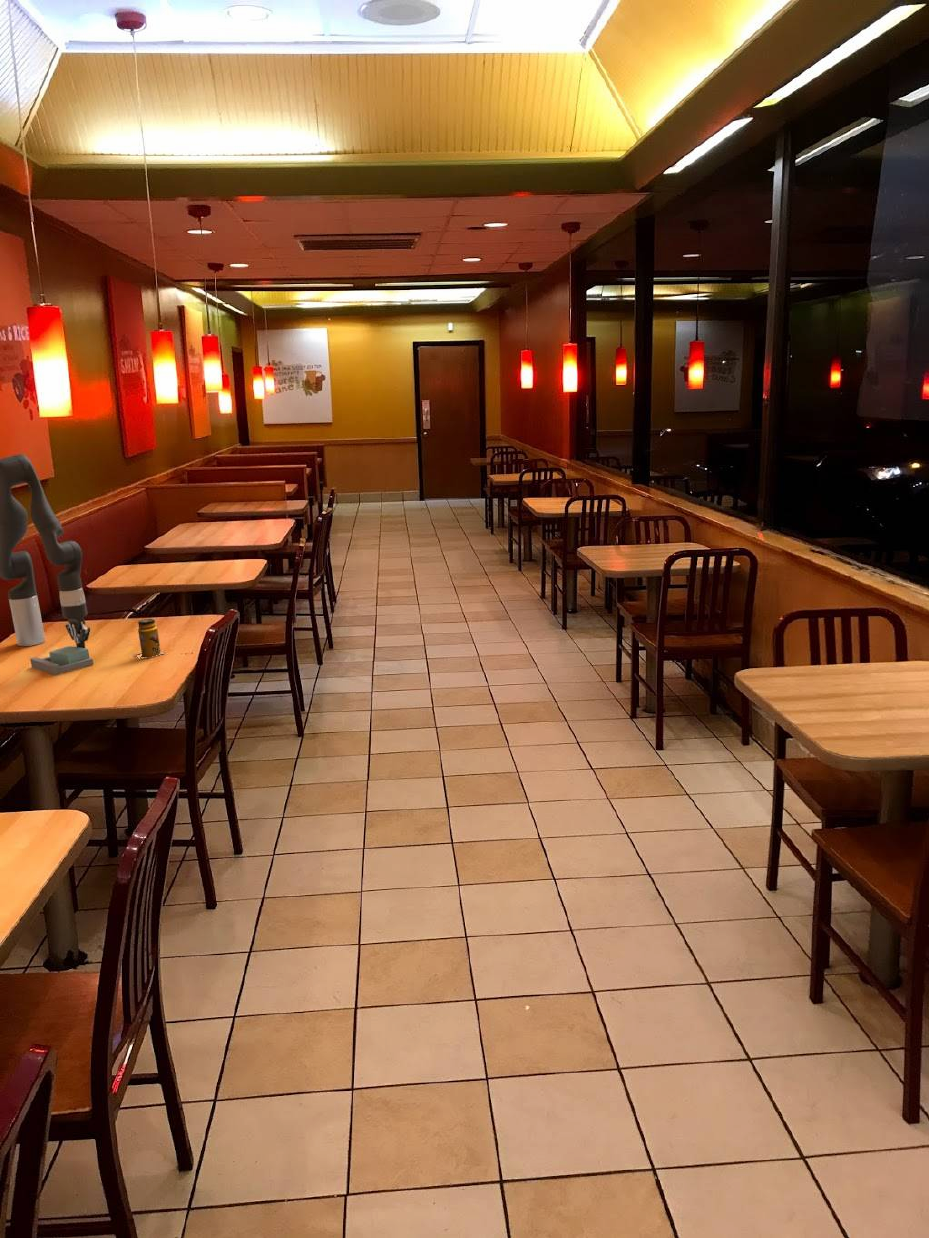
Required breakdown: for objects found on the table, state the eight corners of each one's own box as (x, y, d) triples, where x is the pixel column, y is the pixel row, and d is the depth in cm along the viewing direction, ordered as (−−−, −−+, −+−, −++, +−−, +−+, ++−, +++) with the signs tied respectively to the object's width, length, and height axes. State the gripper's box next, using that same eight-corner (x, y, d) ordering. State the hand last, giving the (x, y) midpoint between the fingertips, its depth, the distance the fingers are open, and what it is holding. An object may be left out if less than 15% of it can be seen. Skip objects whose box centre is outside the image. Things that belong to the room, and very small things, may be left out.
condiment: (164, 654, 308) (159, 620, 305) (138, 660, 304) (133, 625, 301) (158, 650, 314) (153, 616, 311) (133, 655, 310) (127, 621, 307)
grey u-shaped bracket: (31, 667, 304) (30, 658, 303) (70, 657, 313) (68, 648, 312) (54, 675, 293) (52, 666, 292) (93, 664, 302) (92, 655, 301)
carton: (51, 666, 303) (49, 651, 302) (72, 660, 309) (69, 645, 308) (70, 670, 298) (67, 655, 297) (90, 663, 304) (88, 648, 303)
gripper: (52, 602, 304) (61, 653, 309) (71, 607, 296) (80, 659, 300) (74, 597, 310) (83, 647, 314) (93, 602, 301) (102, 653, 306)
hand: (82, 653), depth 307 cm, fingers closed
